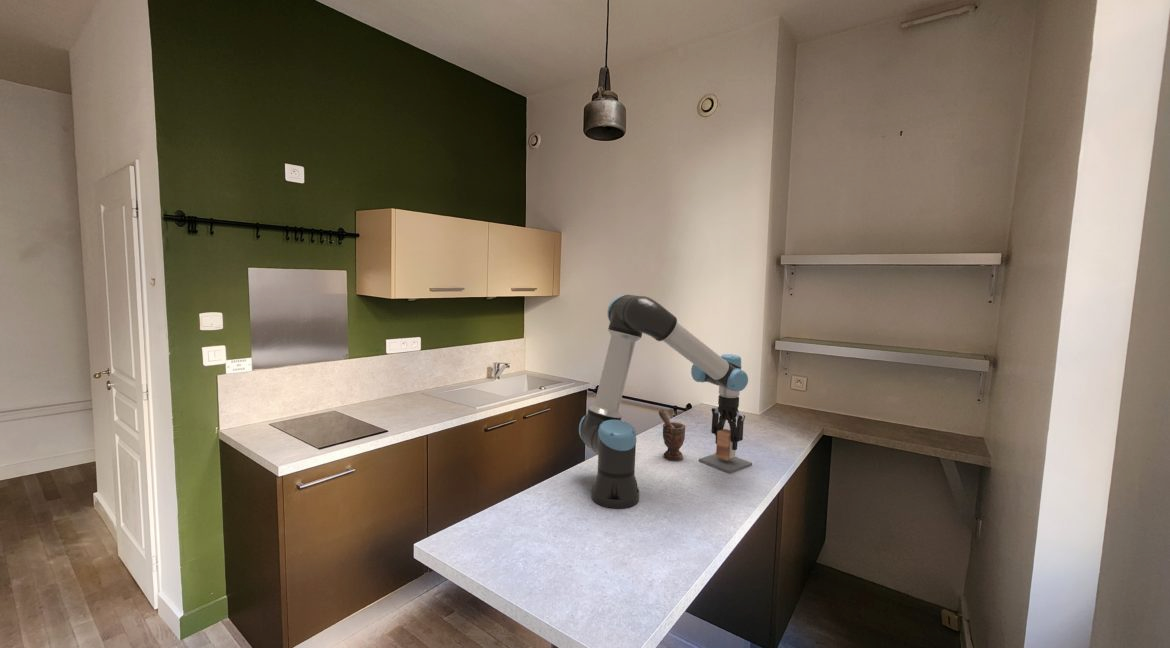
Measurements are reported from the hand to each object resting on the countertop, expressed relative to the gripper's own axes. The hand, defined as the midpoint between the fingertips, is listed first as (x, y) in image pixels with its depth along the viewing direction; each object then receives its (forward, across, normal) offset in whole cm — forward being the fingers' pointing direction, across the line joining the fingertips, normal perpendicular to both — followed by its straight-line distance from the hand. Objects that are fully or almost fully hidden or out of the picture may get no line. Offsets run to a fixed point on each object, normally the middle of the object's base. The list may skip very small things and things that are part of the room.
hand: (725, 455), depth 179 cm
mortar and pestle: (+3, +15, +14) cm, 21 cm away
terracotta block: (+1, 0, 0) cm, 1 cm away
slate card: (+3, 0, 0) cm, 3 cm away
